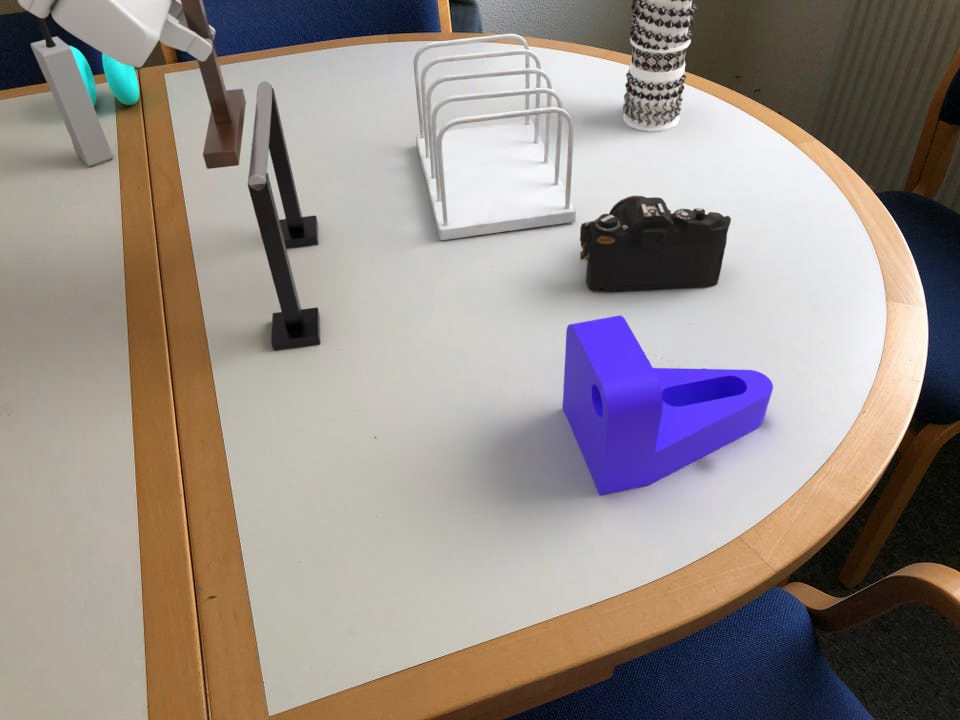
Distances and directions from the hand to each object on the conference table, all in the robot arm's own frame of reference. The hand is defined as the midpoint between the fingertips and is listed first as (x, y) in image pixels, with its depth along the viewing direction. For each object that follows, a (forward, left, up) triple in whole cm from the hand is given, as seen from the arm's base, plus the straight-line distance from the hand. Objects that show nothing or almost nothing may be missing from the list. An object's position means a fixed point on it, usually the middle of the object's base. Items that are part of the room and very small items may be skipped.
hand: (210, 47), depth 74 cm
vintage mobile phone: (-27, +37, -28) cm, 54 cm away
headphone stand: (+2, 0, -9) cm, 9 cm away
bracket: (+38, -31, -28) cm, 56 cm away
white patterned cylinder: (+56, +30, -28) cm, 69 cm away
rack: (+3, 0, -28) cm, 28 cm away
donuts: (-28, +55, -28) cm, 68 cm away
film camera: (+43, -6, -28) cm, 51 cm away
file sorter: (+29, +17, -28) cm, 44 cm away
